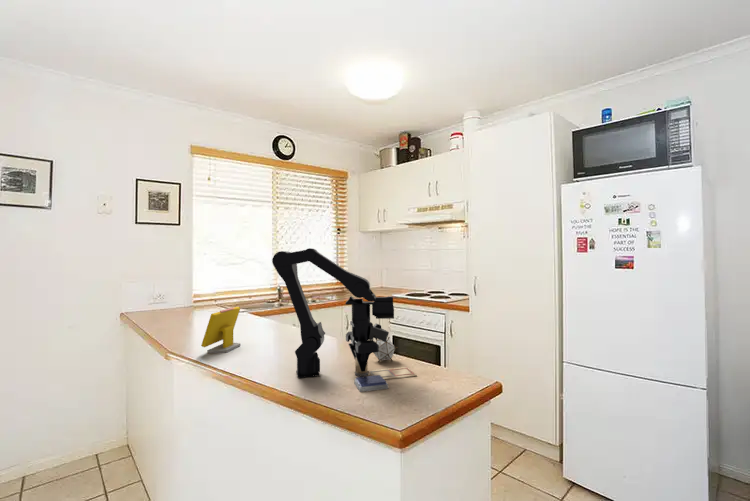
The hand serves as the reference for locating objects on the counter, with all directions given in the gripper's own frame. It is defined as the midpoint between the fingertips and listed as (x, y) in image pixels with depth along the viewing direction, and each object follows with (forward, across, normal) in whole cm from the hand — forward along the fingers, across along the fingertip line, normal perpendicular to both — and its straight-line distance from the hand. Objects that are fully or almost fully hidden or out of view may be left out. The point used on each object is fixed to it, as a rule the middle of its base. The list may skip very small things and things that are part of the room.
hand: (361, 369), depth 119 cm
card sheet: (+2, -2, -9) cm, 9 cm away
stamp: (+2, 0, 0) cm, 2 cm away
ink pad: (+2, -11, 0) cm, 11 cm away
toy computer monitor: (+2, +48, +44) cm, 65 cm away
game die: (+2, +12, -11) cm, 16 cm away
